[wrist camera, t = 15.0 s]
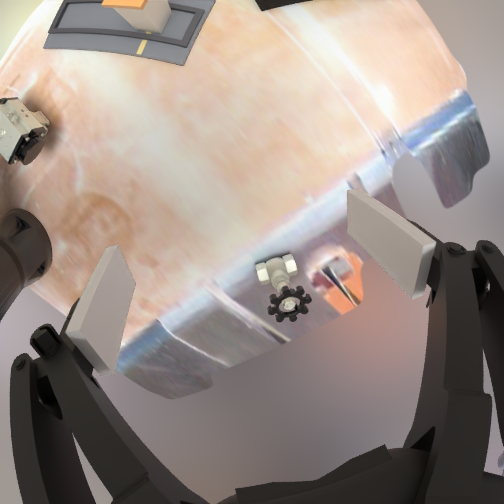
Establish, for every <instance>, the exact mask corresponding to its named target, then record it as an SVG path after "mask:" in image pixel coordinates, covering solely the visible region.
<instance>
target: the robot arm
mask: <svg viewBox="0 0 504 504" xmlns="http://www.w3.org/2000/svg"><path fill="white" fill-rule="evenodd" d="M347 221H348V231H347V233H348V234H349V235H350V236H351V237H352V238H353V239H354V240H355V241H356V242H357V243H358V244H359V245H360V246H361V247H362V248H363V249H364V250H365V251H366V252H367V253H368V254H369V255H370V256H371V257H372V258H373V259H374V260H375V261H376V262H377V263H378V264H379V265H380V266H381V267H382V268H383V269H384V270H385V271H386V272H387V273H388V274H389V275H390V276H391V277H392V278H393V280H394V281H395V282H396V283H397V284H398V285H399V286H400V287H401V288H402V289H403V291H404V292H405V293H406V294H407V295H408V296H409V297H410V298H411V299H414V298H417V297H419V296H421V295H423V294H424V291H425V288H426V284H428V285H429V286H430V287H431V292H430V295H429V299H428V302H427V305H426V307H427V308H428V306H429V324H428V336H427V347H426V357H425V364H424V371H423V377H422V384H421V390H420V394H419V399H418V404H417V409H416V413H415V418H414V422H413V425H412V428H411V430H410V432H409V434H408V436H407V438H406V440H405V443H404V446H403V448H393V449H387V448H386V446H385V444H384V445H382V446H380V447H378V448H376V449H373V450H372V451H369V452H367V453H364V454H362V455H359V456H357V457H355V458H352V459H350V460H349V461H347V462H346V463H344V464H343V465H341V466H339V467H338V468H337V469H335V470H333V471H332V472H330V473H328V474H326V475H325V476H323V477H321V478H320V479H318V480H314V481H303V482H272V483H267V484H262V485H256V486H250V487H244V488H237V489H235V490H236V494H235V495H233V496H230V497H228V498H226V499H224V500H222V501H221V502H219V503H218V504H504V470H503V474H502V476H500V475H496V474H492V473H488V472H485V471H484V467H485V462H486V455H487V450H488V443H489V436H490V427H491V416H492V415H491V414H492V397H491V396H490V394H486V393H484V391H483V350H484V353H485V357H486V361H487V365H488V369H489V373H490V377H491V382H492V386H493V392H494V397H495V403H496V409H497V416H498V423H499V429H500V434H501V439H502V443H503V446H504V256H503V254H502V253H501V251H500V250H499V249H498V247H497V246H496V245H494V244H493V243H492V242H490V241H487V240H486V241H485V240H480V241H478V242H477V245H476V248H475V250H473V251H466V249H465V248H464V247H463V246H461V245H459V244H457V243H453V242H447V243H442V242H441V241H440V240H439V239H437V238H436V237H434V236H433V235H432V234H430V233H429V232H427V231H426V230H425V229H424V228H422V227H421V226H419V225H418V224H417V223H415V222H412V221H410V220H407V219H404V218H403V217H401V216H400V215H398V214H397V213H395V212H394V211H392V210H391V209H389V208H388V207H386V206H385V205H383V204H382V203H380V202H379V201H377V200H376V199H374V198H373V197H371V196H369V195H368V194H366V193H365V192H363V191H361V190H360V189H353V190H347ZM51 261H52V249H51V244H50V241H49V238H48V235H47V233H46V231H45V229H44V228H43V226H42V225H41V223H40V222H39V221H38V220H37V219H36V218H35V217H34V216H33V215H32V214H30V213H29V212H27V211H25V210H21V209H14V210H11V211H9V212H8V213H7V214H5V215H4V216H3V217H2V218H1V219H0V321H1V320H2V318H3V316H4V315H5V313H6V312H7V310H8V309H9V307H10V306H11V304H12V303H13V302H14V300H15V299H16V297H17V296H18V294H19V293H20V292H21V290H22V289H23V288H24V287H26V286H28V285H30V284H32V283H34V282H35V281H37V280H39V279H40V278H42V277H43V276H44V274H45V273H46V272H47V270H48V269H49V267H50V265H51ZM489 283H490V290H488V288H487V287H488V284H489ZM135 285H136V283H135V281H134V278H133V276H132V274H131V272H130V270H129V268H128V265H127V263H126V261H125V259H124V257H123V254H122V252H121V250H120V247H119V245H118V244H116V245H113V246H109V247H107V248H106V249H105V251H104V253H103V255H102V257H101V258H100V260H99V262H98V264H97V266H96V268H95V270H94V271H93V273H92V275H91V277H90V279H89V281H88V283H87V285H86V287H85V289H84V291H83V293H82V296H81V298H78V300H77V301H76V302H75V303H74V304H73V306H72V308H71V310H70V312H69V314H68V316H67V320H66V321H65V323H64V325H63V328H62V330H61V333H60V335H58V333H57V332H56V331H55V329H54V328H53V326H52V325H51V324H44V325H42V326H40V327H39V328H38V329H36V331H34V333H33V334H32V336H31V339H30V345H31V346H32V347H33V348H34V349H35V351H36V352H37V353H38V354H39V355H40V357H39V358H37V359H35V360H33V359H32V358H31V357H30V356H29V355H28V354H27V353H23V354H21V355H19V356H17V357H16V359H15V360H14V362H13V364H12V367H11V378H10V425H11V438H12V448H13V456H14V463H15V469H16V474H17V480H18V484H19V489H20V493H21V497H22V501H23V504H96V502H95V500H94V497H93V495H92V493H91V490H90V488H89V485H88V483H87V480H86V477H85V474H84V471H83V469H82V465H81V462H80V459H79V456H78V453H77V449H76V446H75V442H74V439H73V435H74V437H75V438H76V440H77V442H78V444H79V446H80V448H81V449H82V451H83V453H84V455H85V456H86V458H87V460H88V461H89V463H90V465H91V466H92V468H93V469H94V471H95V472H96V474H97V475H98V477H99V478H100V480H101V481H102V483H103V484H104V486H105V487H106V488H107V490H108V491H109V493H110V494H111V496H112V497H113V501H112V503H111V504H210V503H208V502H207V501H206V500H204V499H203V498H201V497H200V496H199V495H197V494H195V493H194V492H192V491H191V490H190V489H188V488H187V487H186V486H185V485H184V484H182V482H180V481H179V480H178V479H177V478H176V477H175V476H174V475H173V474H172V473H171V472H170V471H169V470H168V469H167V468H166V467H165V466H164V465H163V464H162V463H161V462H160V461H159V460H158V459H157V458H156V457H155V456H154V454H153V453H152V452H151V451H150V450H149V449H148V448H147V447H146V445H144V443H143V442H142V441H141V440H140V438H139V437H138V436H137V435H136V434H135V432H134V431H133V430H132V429H131V428H130V426H129V425H128V424H127V422H126V421H125V420H124V419H123V417H122V416H121V415H120V413H119V412H118V411H117V409H116V408H115V407H114V405H113V404H112V402H111V401H110V400H109V398H108V397H107V395H106V394H105V392H104V391H103V389H102V388H101V386H100V385H99V383H98V382H97V380H96V379H95V378H94V377H93V376H92V371H93V368H94V369H95V370H96V371H97V372H98V373H99V374H100V375H101V376H103V375H115V370H116V365H117V360H118V355H119V350H120V345H121V340H122V336H123V331H124V327H125V323H126V319H127V315H128V311H129V307H130V303H131V299H132V296H133V292H134V288H135ZM72 433H73V434H72ZM498 466H499V468H501V469H504V453H502V454H501V455H500V457H499V459H498Z"/></svg>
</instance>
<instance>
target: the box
mask: <svg viewBox="0 0 504 504" xmlns="http://www.w3.org/2000/svg"><path fill="white" fill-rule="evenodd" d="M255 1H256V2H257V4H258V6H259V8H260V9H261V11H265V10H269V9H273V8H277V7H281V6H285V5H290V4H295V3H300V2H305V1H311V0H255Z"/></svg>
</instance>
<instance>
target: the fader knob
mask: <svg viewBox="0 0 504 504" xmlns="http://www.w3.org/2000/svg"><path fill="white" fill-rule="evenodd" d="M101 5H102V6H103V7H108V8H113V9H114V10H116V11H117V12H118V13H119V14H120V15H121V16H122V17H123V18H124V19H125V20H126V21H127V22H128V23H130V24H131V25H132V26H133V27H134V28H135V29H136V30H138V31H145V32H151V33H157V34H161V33H162V31H163V29H164V27H165V25H166V23H167V21H168V19H169V18H170V16H171V14H172V11H171V9H170V6H169V4H168V2H167V0H104V1H103V2H102V4H101Z"/></svg>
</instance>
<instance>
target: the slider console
mask: <svg viewBox="0 0 504 504" xmlns="http://www.w3.org/2000/svg"><path fill="white" fill-rule="evenodd" d="M103 1H104V0H64V1H63V3H62V4H61V6H60V8H59V10H58V12H57V14H56V16H55V18H54V20H53V23H52V25H51V27H50V29H49V31H48V33H49V35H48V37H47V39H46V42H45V44H44V47H43V48H44V49H77V50H92V51H103V52H112V53H119V54H126V55H133V56H139V57H144V58H150V59H155V60H160V61H164V62H169V63H173V64H177V65H182V66H184V64H185V61H186V59H187V57H188V55H189V53H190V50H191V48H192V46H193V44H194V42H195V40H196V38H197V36H198V34H199V32H200V30H201V28H202V26H203V24H204V22H205V20H206V18H207V16H208V14H209V12H210V11H211V9H212V7H213V5H214V3H215V0H167V2H168V4H169V6H170V9H171V11H172V14H171V16H170V18H169V19H168V21H167V23H166V25H165V27H164V29H163V31H162V33H161V34H157V33H151V32H145V31H138V30H136V29H135V28H134V27H133V26H132V25H131V24H130V23H128V22H127V21H126V20H125V19H124V18H123V17H122V16H121V15H120V14H119V13H118V12H117V11H116V10H114V9H113V8H108V7H103V6H102V5H101V4H102V2H103Z"/></svg>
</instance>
